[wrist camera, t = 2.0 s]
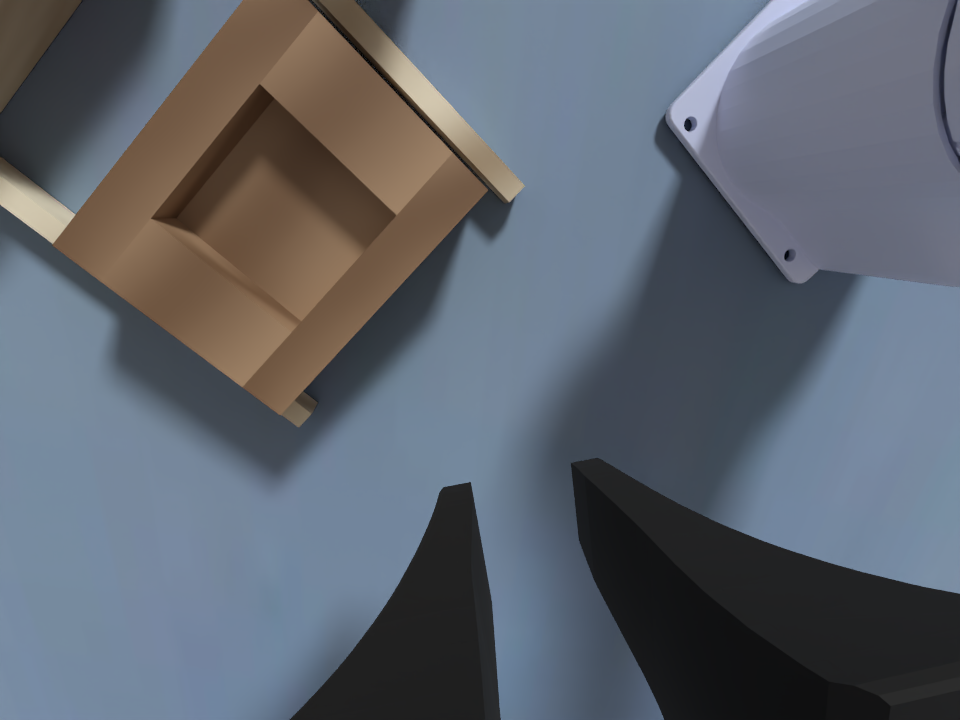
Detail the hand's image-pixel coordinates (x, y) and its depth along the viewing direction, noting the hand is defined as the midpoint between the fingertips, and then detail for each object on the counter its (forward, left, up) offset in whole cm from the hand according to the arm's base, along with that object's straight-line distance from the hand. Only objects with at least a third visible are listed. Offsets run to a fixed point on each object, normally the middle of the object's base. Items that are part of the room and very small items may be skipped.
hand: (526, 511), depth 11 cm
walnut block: (+9, 0, -10) cm, 14 cm away
